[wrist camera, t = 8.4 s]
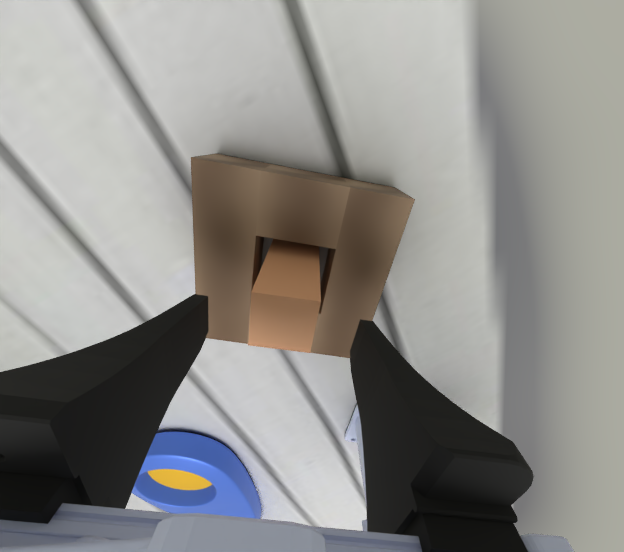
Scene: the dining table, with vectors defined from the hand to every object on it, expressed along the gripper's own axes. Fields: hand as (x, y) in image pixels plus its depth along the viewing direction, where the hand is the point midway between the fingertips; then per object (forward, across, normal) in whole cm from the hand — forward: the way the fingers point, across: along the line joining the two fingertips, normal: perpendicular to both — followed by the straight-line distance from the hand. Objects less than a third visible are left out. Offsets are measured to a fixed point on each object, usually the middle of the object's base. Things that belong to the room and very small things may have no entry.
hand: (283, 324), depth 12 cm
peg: (+8, 0, 0) cm, 8 cm away
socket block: (+9, 0, 0) cm, 9 cm away
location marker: (+9, +6, +36) cm, 38 cm away
